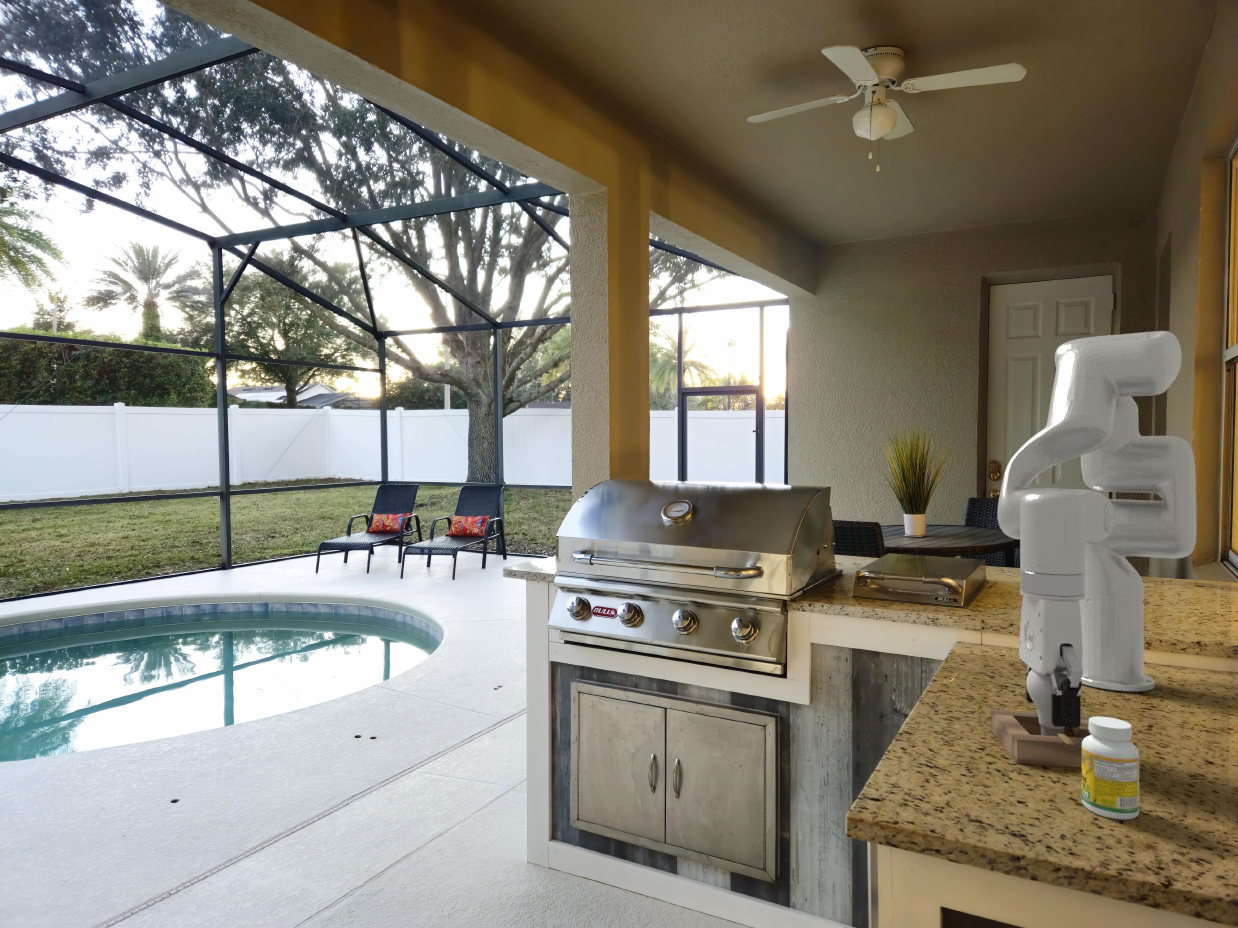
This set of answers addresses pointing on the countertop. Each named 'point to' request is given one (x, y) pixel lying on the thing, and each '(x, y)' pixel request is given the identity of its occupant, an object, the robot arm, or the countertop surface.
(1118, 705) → the countertop surface
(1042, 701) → the lightbulb
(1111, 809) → the supplement bottle
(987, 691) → the countertop surface
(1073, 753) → the socket block
